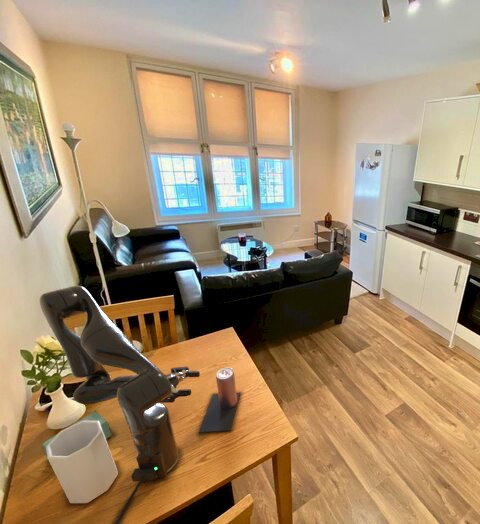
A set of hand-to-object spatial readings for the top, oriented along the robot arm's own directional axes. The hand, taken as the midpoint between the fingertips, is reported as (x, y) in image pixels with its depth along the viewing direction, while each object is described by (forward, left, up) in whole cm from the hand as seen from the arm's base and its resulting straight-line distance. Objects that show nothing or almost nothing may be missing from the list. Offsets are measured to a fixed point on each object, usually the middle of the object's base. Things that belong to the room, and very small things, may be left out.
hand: (195, 382), depth 103 cm
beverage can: (0, -11, -11) cm, 15 cm away
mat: (-4, -9, -11) cm, 15 cm away
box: (-14, +30, -11) cm, 35 cm away
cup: (-25, +20, -11) cm, 34 cm away
